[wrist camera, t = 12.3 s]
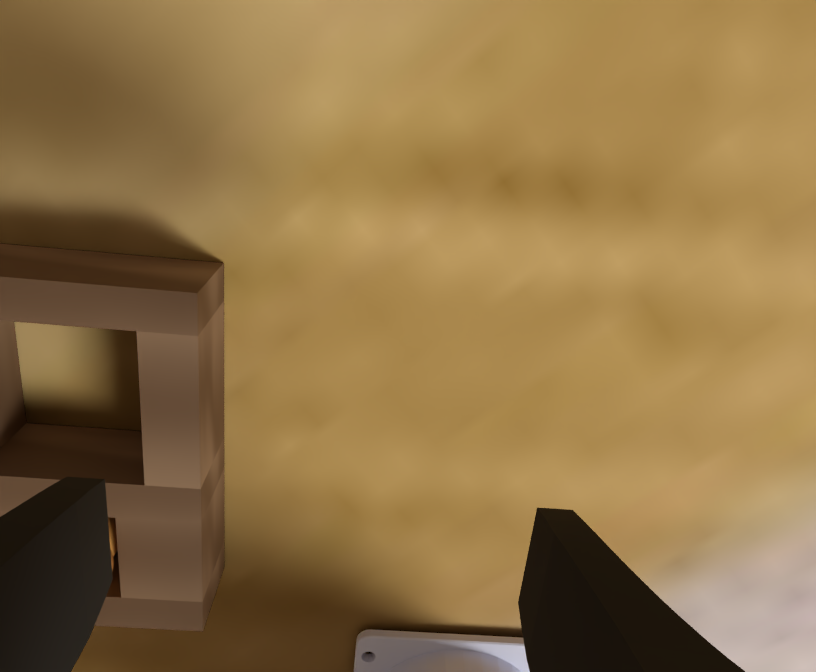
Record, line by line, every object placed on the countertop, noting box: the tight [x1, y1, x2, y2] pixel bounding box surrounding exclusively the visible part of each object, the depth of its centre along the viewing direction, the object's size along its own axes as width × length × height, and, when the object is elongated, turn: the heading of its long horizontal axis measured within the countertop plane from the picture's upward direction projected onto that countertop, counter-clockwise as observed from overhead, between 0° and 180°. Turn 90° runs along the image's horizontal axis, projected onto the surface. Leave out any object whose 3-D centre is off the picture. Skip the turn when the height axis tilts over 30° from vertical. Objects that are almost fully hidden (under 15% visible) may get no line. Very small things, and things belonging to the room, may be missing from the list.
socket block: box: [0, 244, 224, 631], centre depth 20 cm, size 11×8×3 cm
